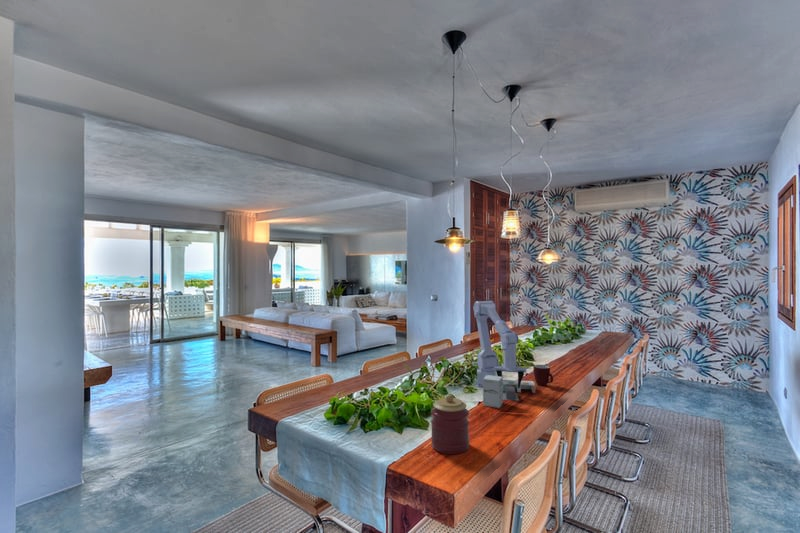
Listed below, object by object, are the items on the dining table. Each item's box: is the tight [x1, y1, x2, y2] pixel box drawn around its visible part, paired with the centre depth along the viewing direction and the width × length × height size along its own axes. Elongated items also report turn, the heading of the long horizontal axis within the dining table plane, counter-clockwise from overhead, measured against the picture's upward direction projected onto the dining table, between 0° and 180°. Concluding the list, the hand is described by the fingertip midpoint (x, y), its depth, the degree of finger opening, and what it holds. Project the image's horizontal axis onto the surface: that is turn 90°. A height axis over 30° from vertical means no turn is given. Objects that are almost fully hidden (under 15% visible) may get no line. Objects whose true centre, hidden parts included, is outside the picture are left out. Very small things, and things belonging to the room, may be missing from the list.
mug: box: [532, 364, 554, 387], centre depth 198 cm, size 10×8×10 cm
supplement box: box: [482, 375, 504, 409], centre depth 171 cm, size 7×7×13 cm
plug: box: [504, 386, 516, 399], centre depth 181 cm, size 4×8×4 cm, turn 167°
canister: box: [430, 393, 470, 455], centre depth 132 cm, size 13×13×18 cm
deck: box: [503, 392, 520, 402], centre depth 181 cm, size 8×10×1 cm
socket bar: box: [503, 379, 536, 394], centre depth 190 cm, size 15×7×5 cm, turn 77°
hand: (510, 387), depth 181 cm, fingers open, 7 cm apart
